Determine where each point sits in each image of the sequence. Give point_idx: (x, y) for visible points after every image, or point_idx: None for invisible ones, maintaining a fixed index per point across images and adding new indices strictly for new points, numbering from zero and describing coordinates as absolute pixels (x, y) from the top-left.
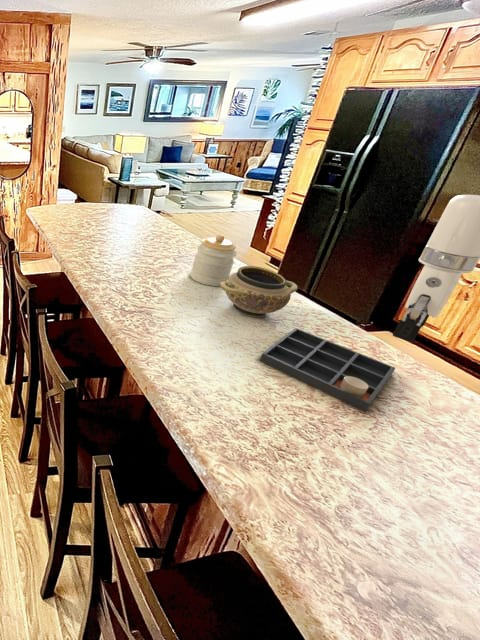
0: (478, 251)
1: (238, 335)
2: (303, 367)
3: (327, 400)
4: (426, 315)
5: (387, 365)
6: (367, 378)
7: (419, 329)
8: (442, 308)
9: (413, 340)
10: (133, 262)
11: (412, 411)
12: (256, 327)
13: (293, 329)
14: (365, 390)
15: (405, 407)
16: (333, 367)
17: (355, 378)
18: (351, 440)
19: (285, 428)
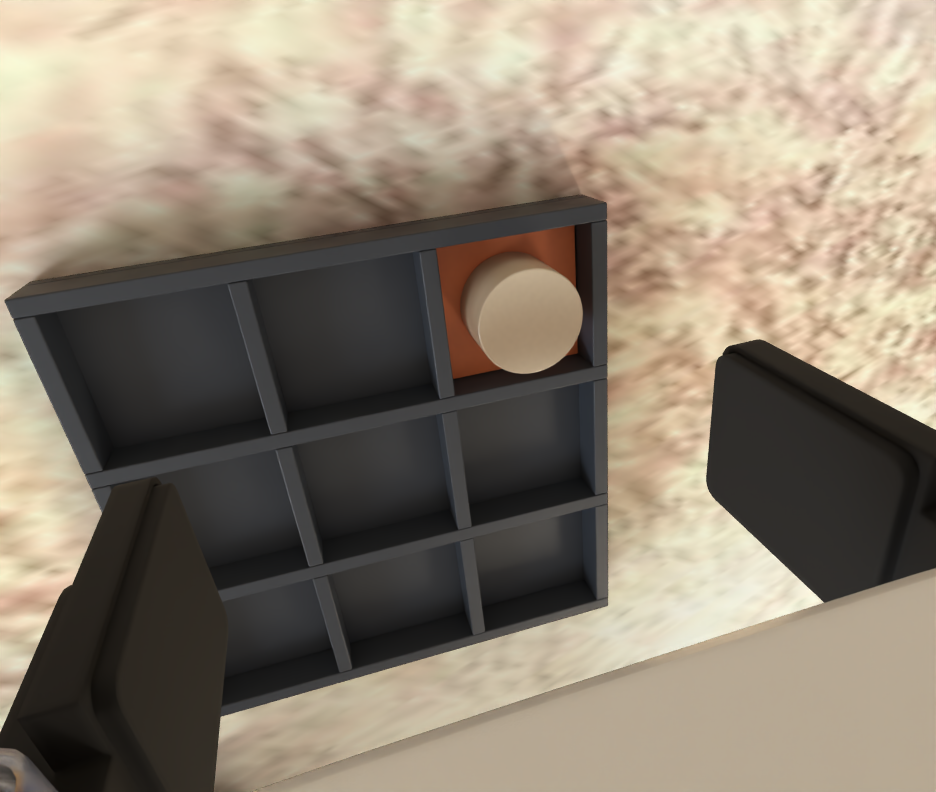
0: None
1: (476, 714)
2: (491, 495)
3: (634, 318)
4: (136, 641)
5: (39, 337)
6: (268, 325)
7: (913, 421)
8: (913, 776)
9: (765, 344)
10: None
11: (337, 56)
12: (328, 748)
13: (233, 712)
14: (542, 266)
15: (334, 95)
16: (345, 449)
17: (494, 343)
18: (831, 138)
19: (925, 297)
